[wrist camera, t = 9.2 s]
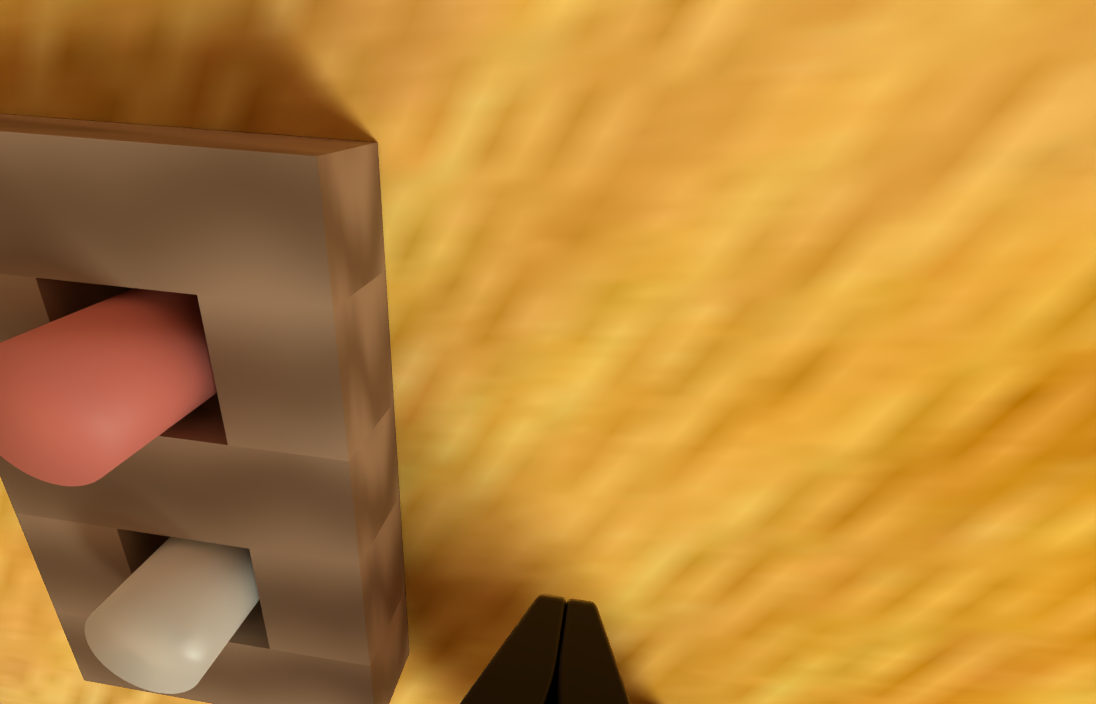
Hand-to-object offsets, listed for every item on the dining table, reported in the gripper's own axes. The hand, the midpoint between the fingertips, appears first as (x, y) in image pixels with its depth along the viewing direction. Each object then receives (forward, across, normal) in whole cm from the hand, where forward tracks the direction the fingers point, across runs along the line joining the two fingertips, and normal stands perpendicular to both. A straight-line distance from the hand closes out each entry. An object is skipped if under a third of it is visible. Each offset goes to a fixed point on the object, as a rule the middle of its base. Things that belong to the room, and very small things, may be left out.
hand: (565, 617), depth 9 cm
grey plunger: (+12, +15, +12) cm, 23 cm away
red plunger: (+11, +15, +2) cm, 19 cm away
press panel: (+13, +15, +7) cm, 21 cm away
